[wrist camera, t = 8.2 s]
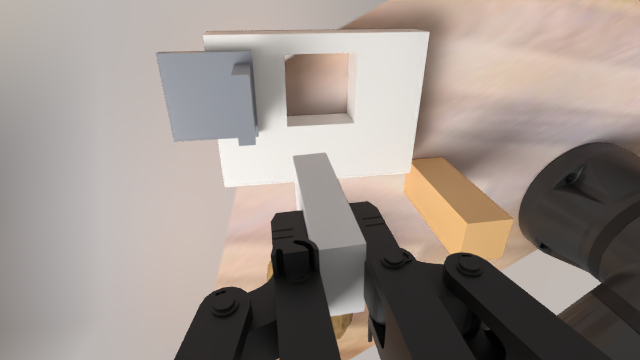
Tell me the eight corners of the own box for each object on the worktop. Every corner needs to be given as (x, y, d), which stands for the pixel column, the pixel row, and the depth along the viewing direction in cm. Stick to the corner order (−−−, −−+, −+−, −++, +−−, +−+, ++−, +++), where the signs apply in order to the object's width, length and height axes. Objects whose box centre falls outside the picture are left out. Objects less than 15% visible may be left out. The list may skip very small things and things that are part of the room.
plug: (442, 157, 38) (513, 219, 28) (436, 189, 40) (501, 258, 30) (407, 159, 38) (467, 223, 27) (403, 191, 39) (457, 263, 29)
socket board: (415, 28, 31) (429, 31, 29) (399, 160, 37) (410, 173, 35) (207, 31, 29) (202, 35, 26) (226, 172, 35) (224, 187, 32)
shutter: (251, 50, 27) (251, 60, 23) (258, 133, 30) (259, 156, 26) (158, 51, 26) (140, 63, 22) (176, 138, 29) (163, 162, 25)
